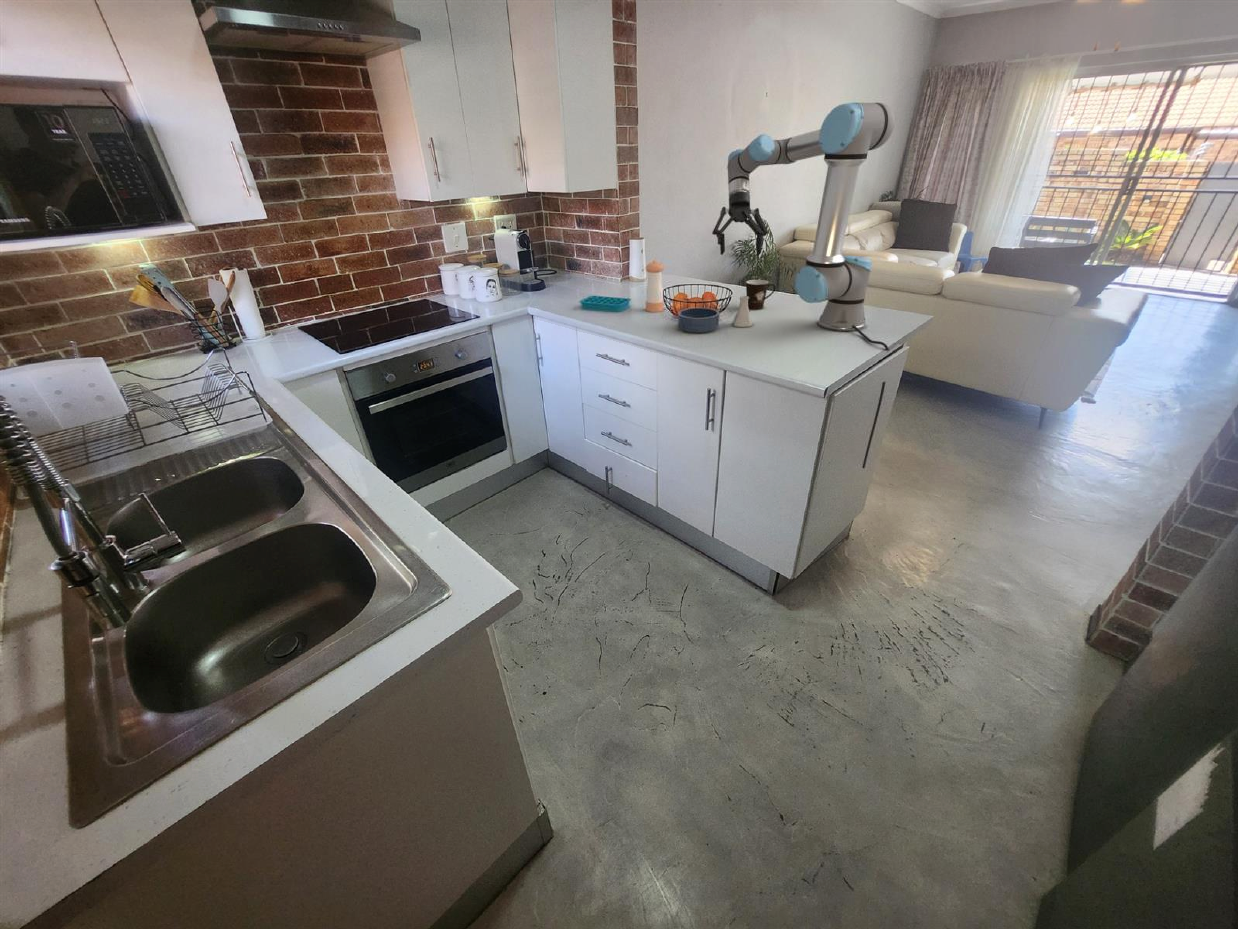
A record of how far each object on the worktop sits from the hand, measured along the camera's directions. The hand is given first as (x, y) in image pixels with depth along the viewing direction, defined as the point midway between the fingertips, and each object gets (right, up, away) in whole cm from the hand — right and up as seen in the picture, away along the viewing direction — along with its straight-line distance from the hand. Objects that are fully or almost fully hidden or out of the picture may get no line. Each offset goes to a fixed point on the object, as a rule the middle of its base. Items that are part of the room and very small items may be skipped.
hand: (740, 253), depth 183 cm
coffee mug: (+12, -13, +21) cm, 28 cm away
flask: (+1, -25, +3) cm, 25 cm away
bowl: (-15, -27, +2) cm, 31 cm away
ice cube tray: (-50, -10, +33) cm, 61 cm away
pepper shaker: (-29, -13, +26) cm, 41 cm away
